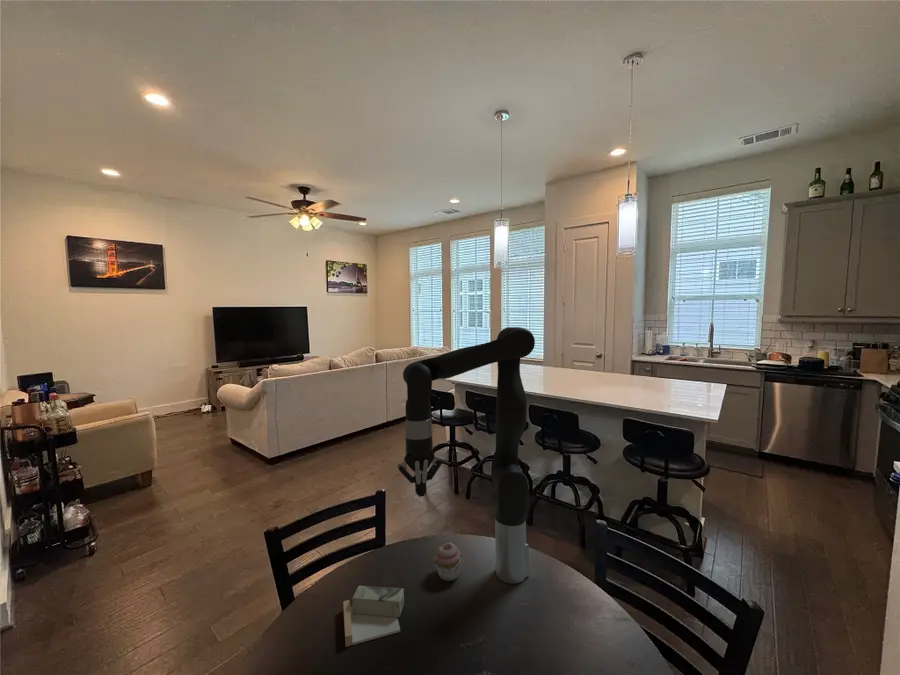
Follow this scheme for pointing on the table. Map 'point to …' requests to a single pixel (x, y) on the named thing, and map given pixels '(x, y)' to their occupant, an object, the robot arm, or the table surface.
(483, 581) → the table surface
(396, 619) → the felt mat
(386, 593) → the box
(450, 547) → the cupcake
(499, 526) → the robot arm
